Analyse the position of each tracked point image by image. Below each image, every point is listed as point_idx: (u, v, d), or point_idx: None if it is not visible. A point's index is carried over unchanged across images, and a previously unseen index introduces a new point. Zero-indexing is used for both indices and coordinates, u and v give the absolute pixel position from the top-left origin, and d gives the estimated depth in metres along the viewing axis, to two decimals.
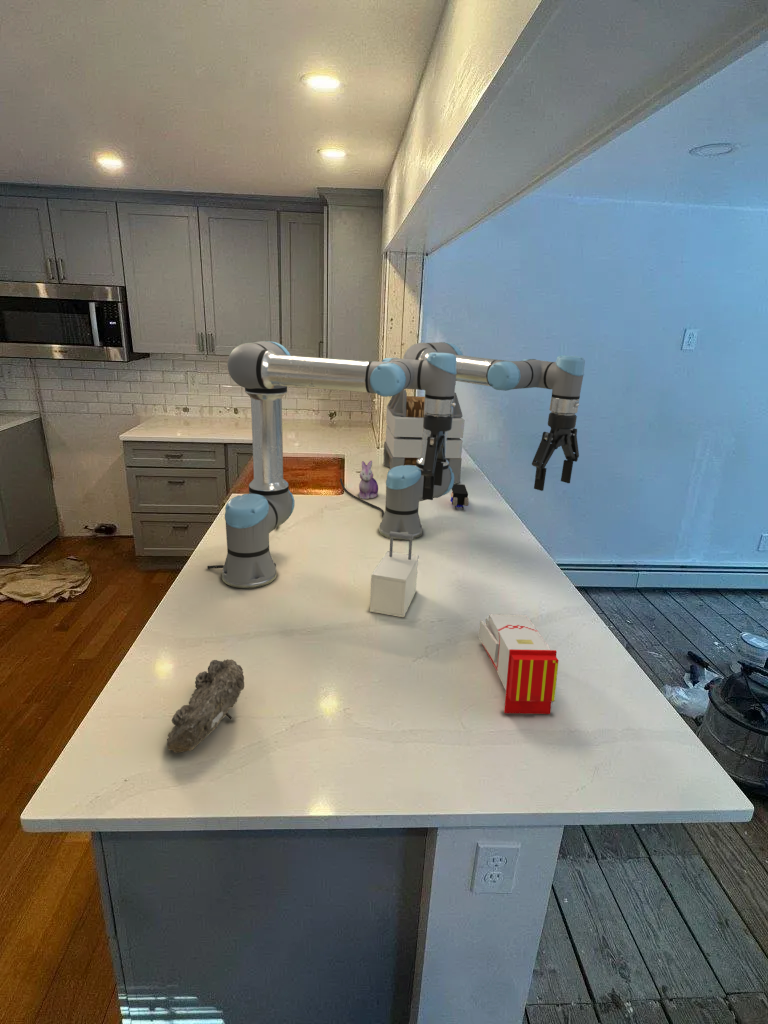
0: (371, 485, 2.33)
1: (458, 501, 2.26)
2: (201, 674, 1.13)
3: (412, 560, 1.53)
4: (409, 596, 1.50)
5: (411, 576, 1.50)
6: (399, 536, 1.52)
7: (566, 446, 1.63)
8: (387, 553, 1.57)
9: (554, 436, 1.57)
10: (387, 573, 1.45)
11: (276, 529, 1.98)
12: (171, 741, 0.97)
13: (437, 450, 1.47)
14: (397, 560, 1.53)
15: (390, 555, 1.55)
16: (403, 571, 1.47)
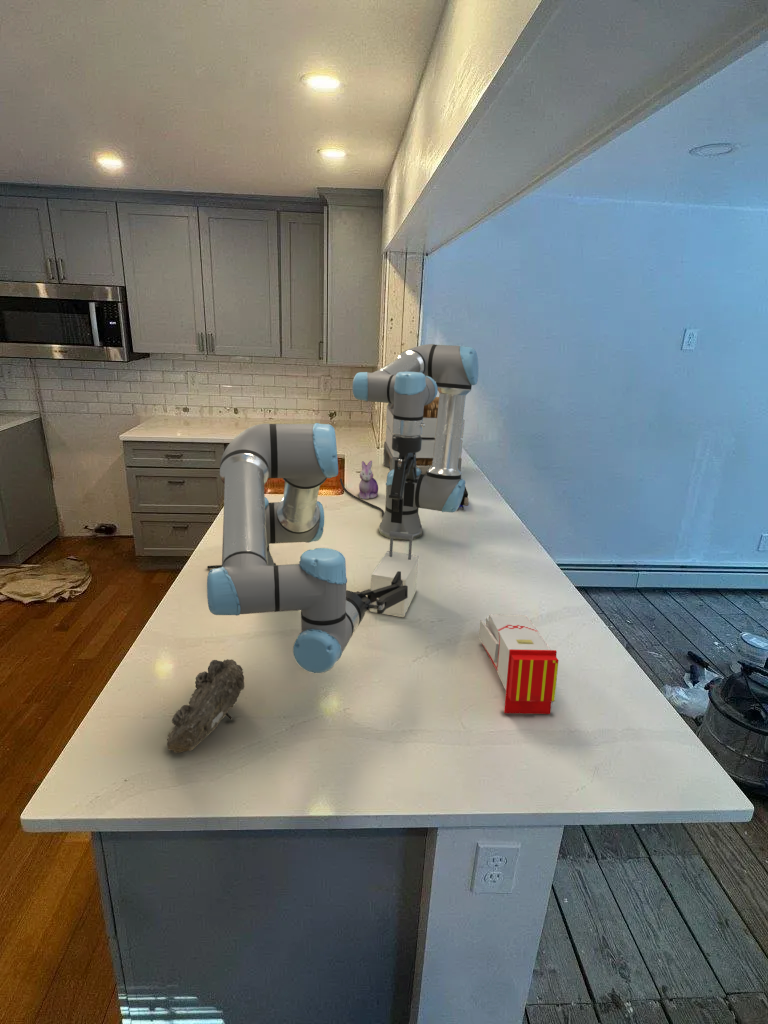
0: (371, 485, 2.33)
1: None
2: (201, 674, 1.13)
3: (412, 560, 1.53)
4: (409, 596, 1.50)
5: (411, 576, 1.50)
6: (399, 536, 1.52)
7: (410, 469, 1.49)
8: (387, 553, 1.57)
9: None
10: (387, 573, 1.45)
11: None
12: (171, 741, 0.97)
13: None
14: (397, 560, 1.53)
15: (390, 555, 1.55)
16: (403, 571, 1.47)
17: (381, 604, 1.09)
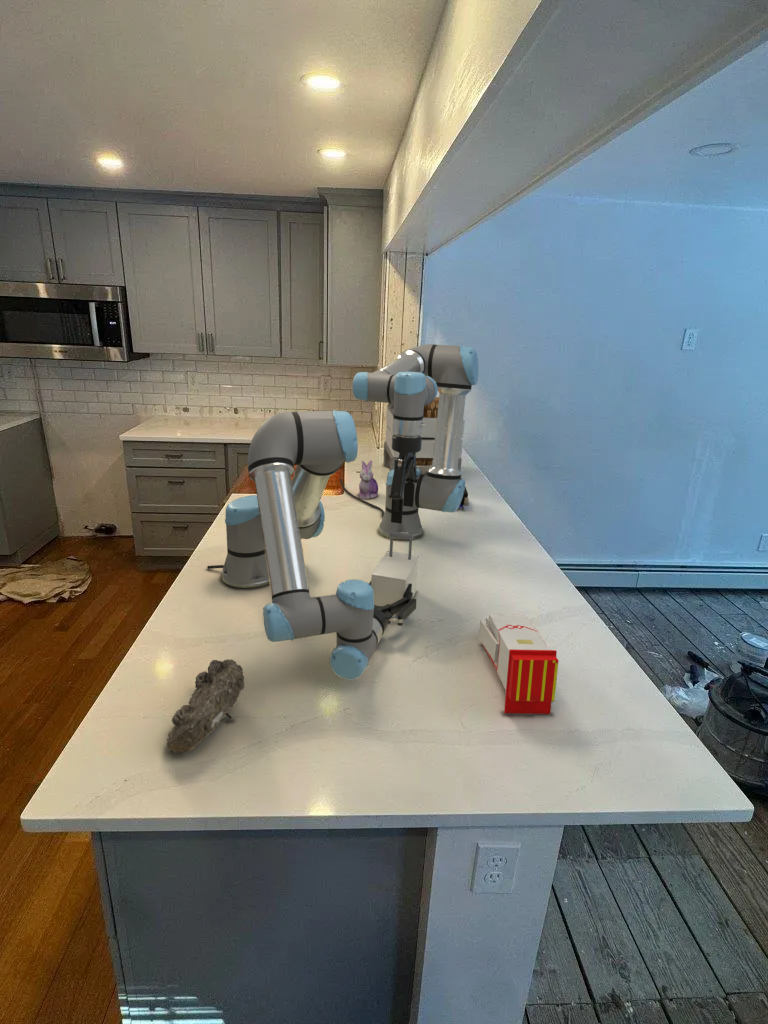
0: (371, 485, 2.33)
1: None
2: (201, 674, 1.13)
3: (412, 560, 1.53)
4: None
5: (411, 576, 1.50)
6: (399, 536, 1.52)
7: (410, 469, 1.49)
8: (387, 553, 1.57)
9: None
10: (387, 573, 1.45)
11: None
12: (171, 741, 0.97)
13: None
14: (397, 560, 1.53)
15: (390, 555, 1.55)
16: (403, 571, 1.47)
17: (402, 618, 1.32)
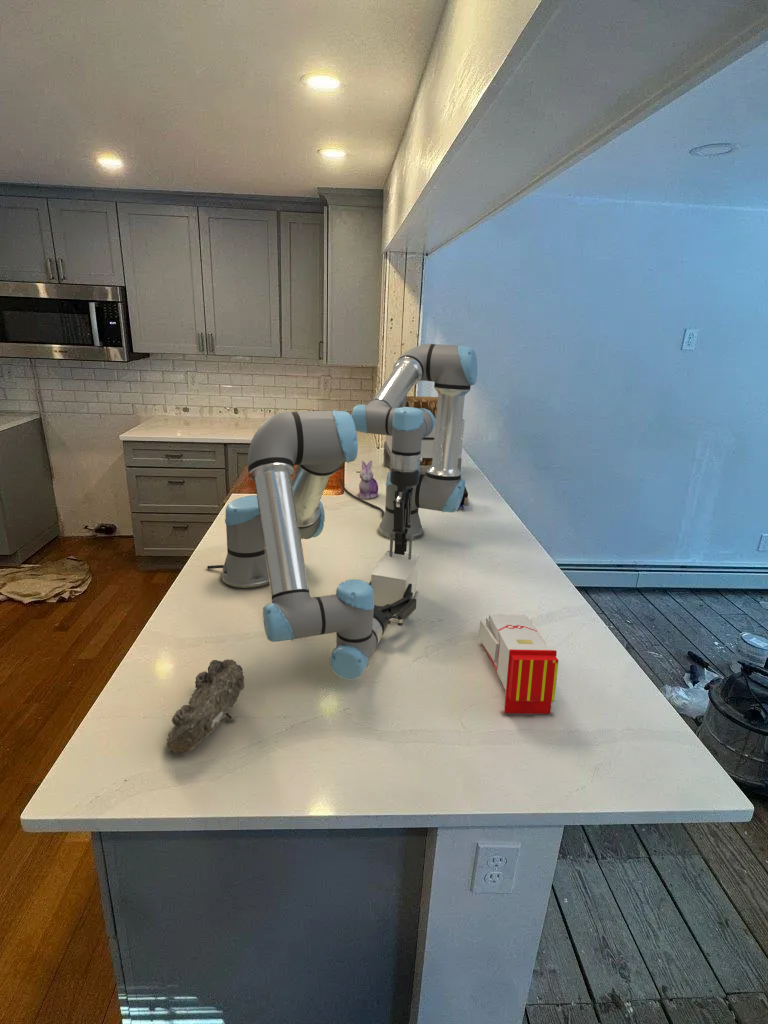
0: (371, 485, 2.33)
1: None
2: (201, 674, 1.13)
3: (412, 560, 1.53)
4: None
5: (411, 576, 1.49)
6: None
7: None
8: (387, 553, 1.57)
9: (403, 495, 1.44)
10: (387, 573, 1.45)
11: None
12: (171, 741, 0.97)
13: None
14: (397, 560, 1.53)
15: (390, 555, 1.55)
16: (403, 571, 1.47)
17: (402, 618, 1.32)
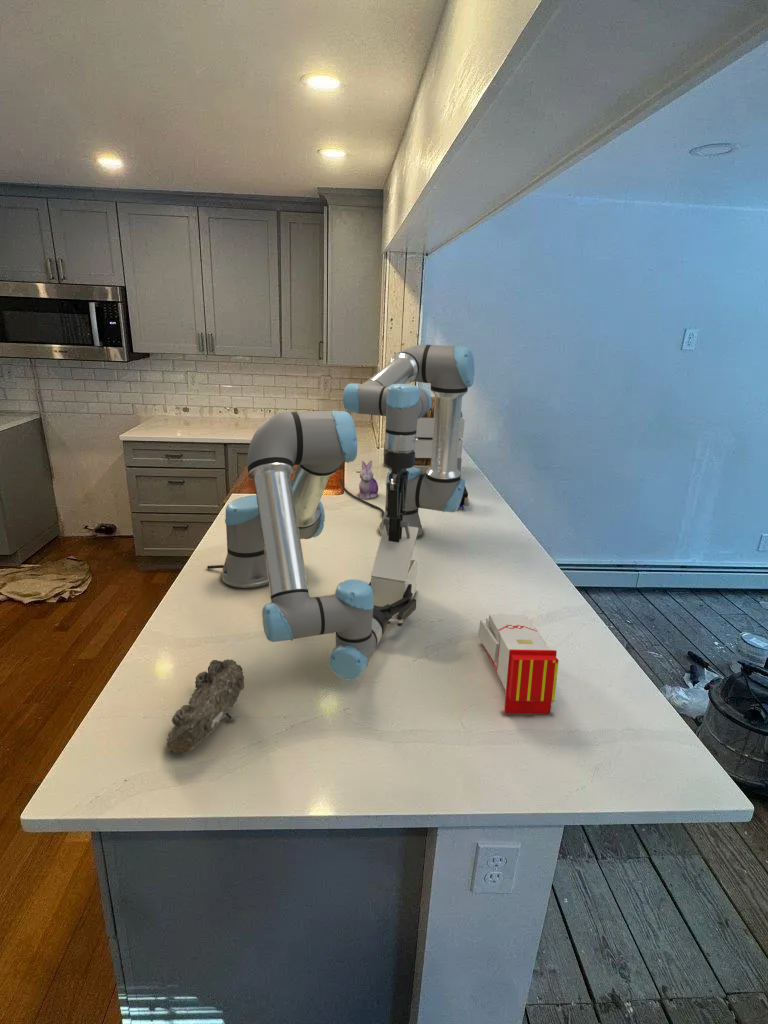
0: (371, 485, 2.33)
1: None
2: (201, 674, 1.13)
3: (411, 539, 1.48)
4: None
5: (411, 576, 1.49)
6: None
7: None
8: (385, 528, 1.51)
9: (398, 478, 1.35)
10: (386, 572, 1.44)
11: None
12: (171, 741, 0.97)
13: None
14: (396, 542, 1.48)
15: (388, 535, 1.49)
16: (402, 564, 1.44)
17: (401, 618, 1.32)
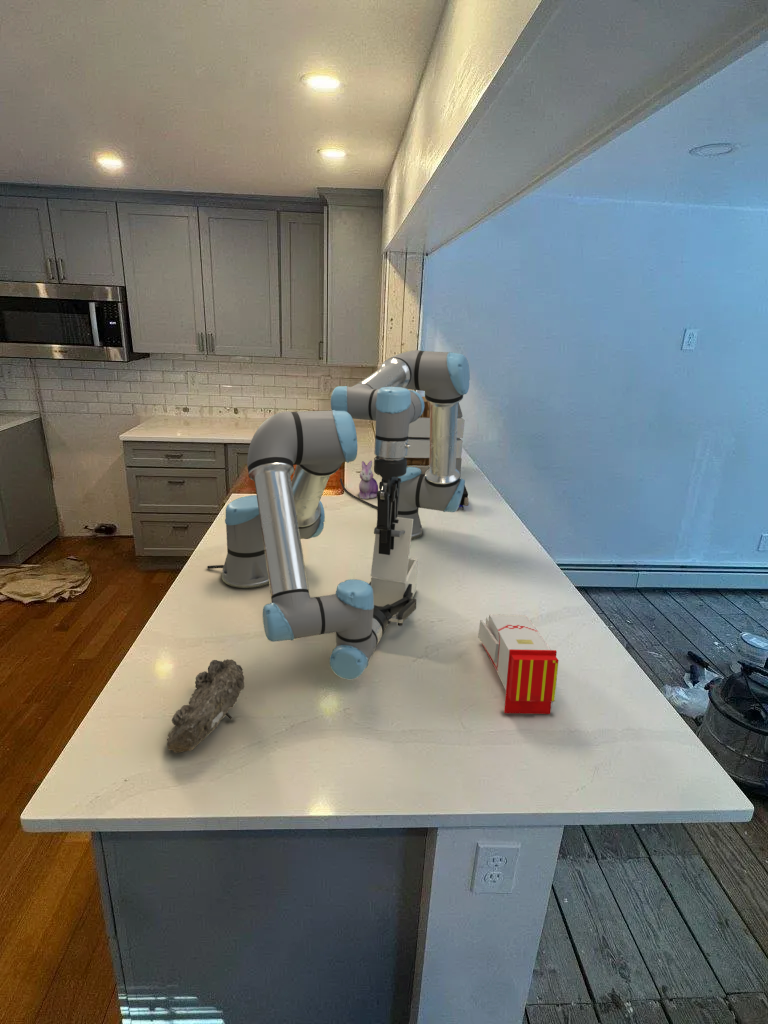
0: (371, 485, 2.33)
1: None
2: (201, 674, 1.13)
3: (407, 534, 1.41)
4: None
5: (411, 576, 1.49)
6: None
7: None
8: None
9: (388, 487, 1.28)
10: (385, 572, 1.43)
11: None
12: (171, 741, 0.97)
13: None
14: None
15: None
16: (400, 563, 1.42)
17: (402, 618, 1.32)
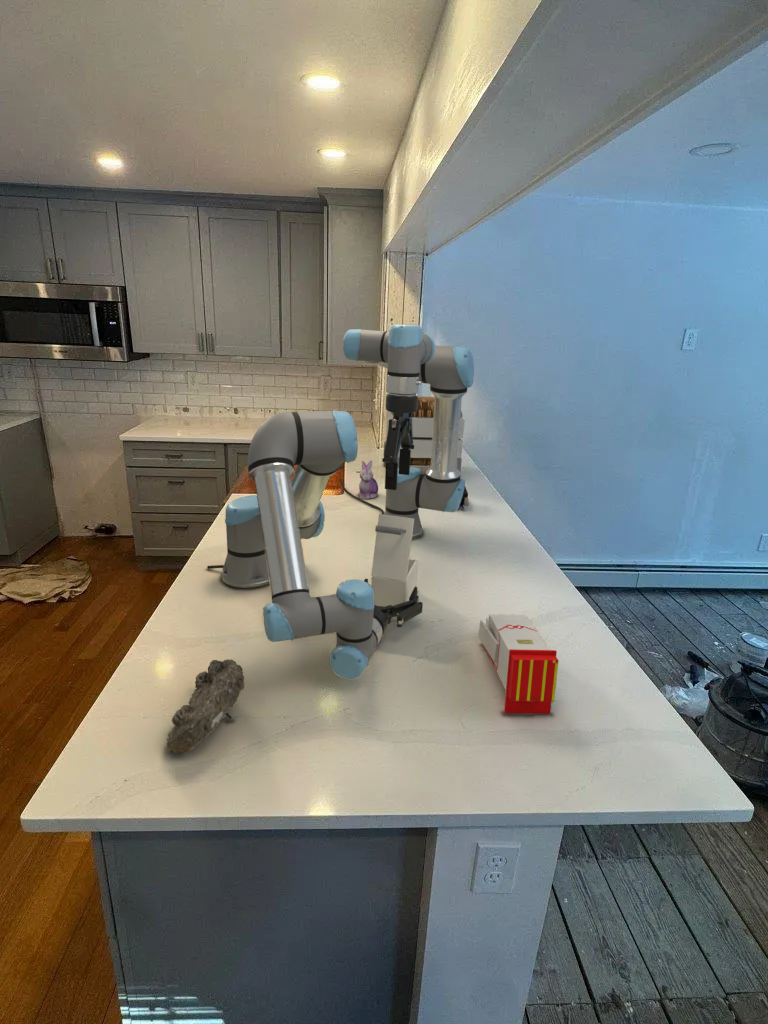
0: (371, 485, 2.33)
1: None
2: (201, 674, 1.13)
3: (408, 533, 1.42)
4: (409, 596, 1.50)
5: (411, 576, 1.50)
6: (386, 532, 1.37)
7: (405, 433, 1.38)
8: (380, 521, 1.44)
9: (400, 423, 1.30)
10: (386, 571, 1.43)
11: None
12: (171, 741, 0.97)
13: None
14: (392, 537, 1.43)
15: None
16: (401, 562, 1.42)
17: (401, 620, 1.31)
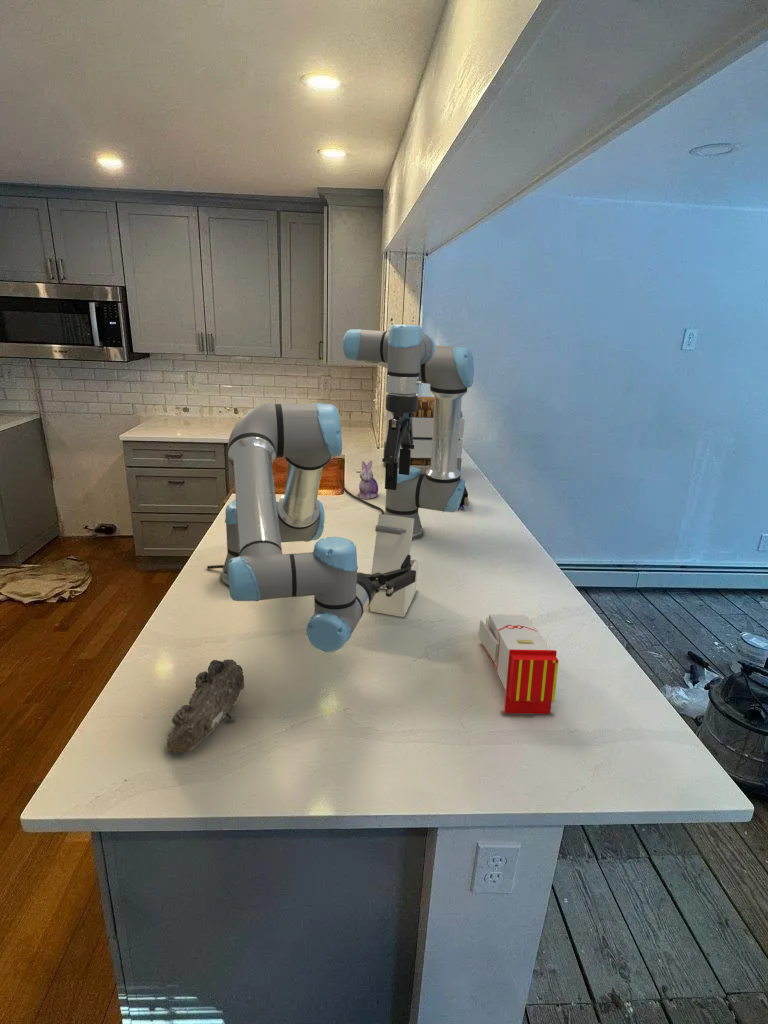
0: (371, 485, 2.33)
1: None
2: (201, 674, 1.13)
3: (408, 533, 1.42)
4: (409, 596, 1.50)
5: None
6: (386, 532, 1.37)
7: (405, 433, 1.38)
8: (380, 521, 1.44)
9: (400, 423, 1.30)
10: (386, 571, 1.43)
11: None
12: (171, 741, 0.97)
13: None
14: (392, 537, 1.43)
15: None
16: (401, 562, 1.42)
17: (390, 588, 1.15)
